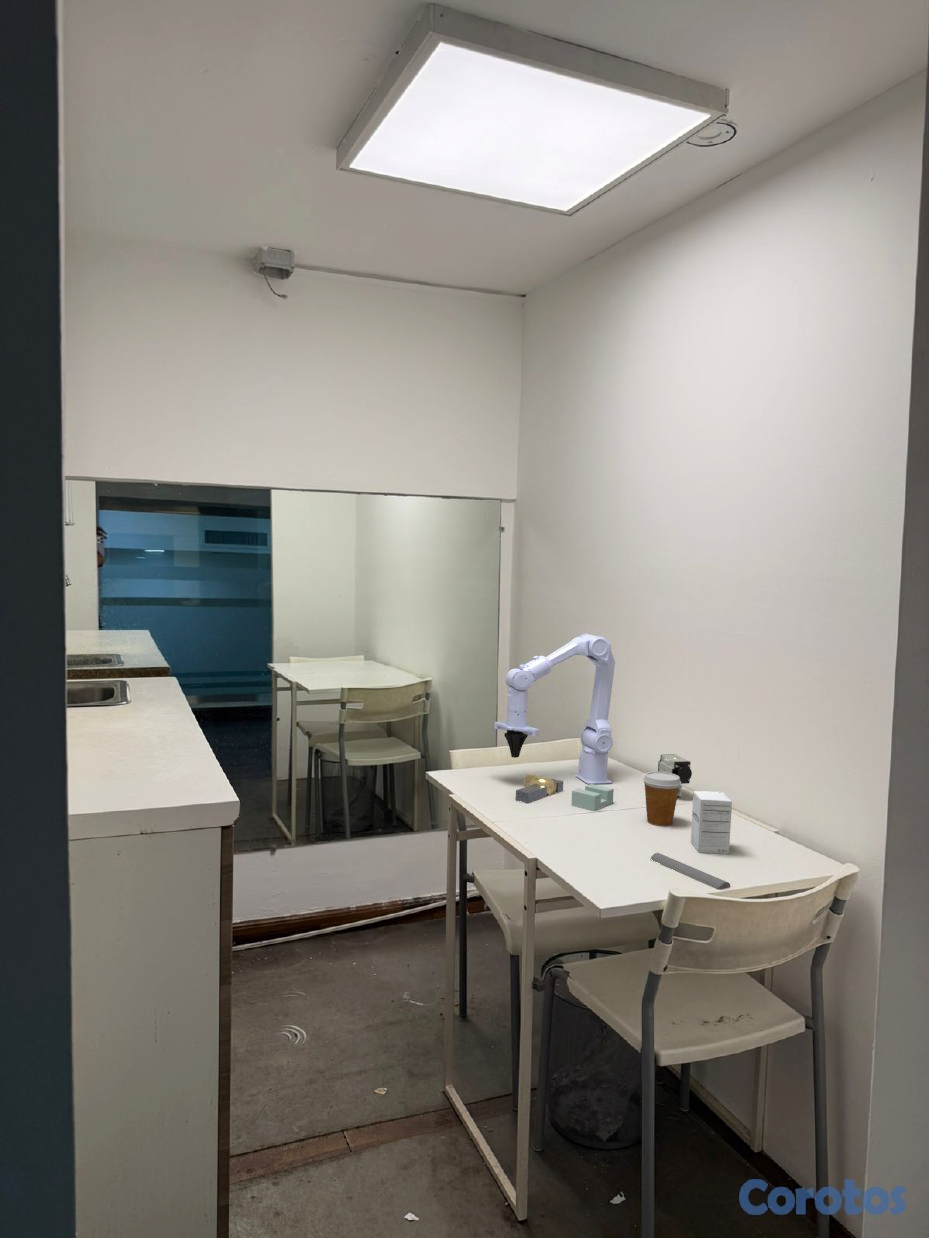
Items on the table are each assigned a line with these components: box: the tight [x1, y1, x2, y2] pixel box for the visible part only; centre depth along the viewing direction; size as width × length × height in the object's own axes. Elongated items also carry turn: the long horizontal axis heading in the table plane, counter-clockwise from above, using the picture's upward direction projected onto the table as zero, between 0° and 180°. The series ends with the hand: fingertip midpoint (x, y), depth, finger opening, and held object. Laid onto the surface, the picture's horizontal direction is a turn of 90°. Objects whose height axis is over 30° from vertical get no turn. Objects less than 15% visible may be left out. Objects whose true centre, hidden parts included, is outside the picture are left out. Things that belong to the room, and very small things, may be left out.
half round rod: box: [650, 852, 731, 890], centre depth 184 cm, size 4×20×2 cm, turn 33°
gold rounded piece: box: [523, 774, 557, 796], centre depth 242 cm, size 8×4×4 cm, turn 51°
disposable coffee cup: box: [642, 771, 682, 827], centre depth 218 cm, size 10×10×12 cm
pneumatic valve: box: [657, 753, 693, 798], centre depth 243 cm, size 6×12×12 cm, turn 14°
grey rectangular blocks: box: [515, 778, 564, 804], centre depth 239 cm, size 4×18×3 cm, turn 141°
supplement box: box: [690, 790, 733, 855], centre depth 199 cm, size 7×7×13 cm
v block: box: [571, 784, 614, 812], centre depth 232 cm, size 7×10×4 cm
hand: (515, 756), depth 248 cm, fingers closed
